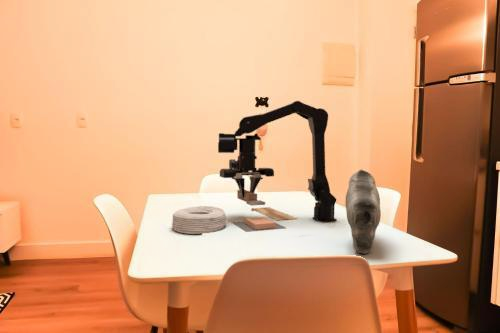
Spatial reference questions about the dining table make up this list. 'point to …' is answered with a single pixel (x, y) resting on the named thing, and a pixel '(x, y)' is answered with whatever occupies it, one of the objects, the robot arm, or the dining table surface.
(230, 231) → the dining table surface
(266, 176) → the robot arm
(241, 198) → the brown wooden plank
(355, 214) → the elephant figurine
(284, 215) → the board
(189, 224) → the cable
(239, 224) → the mat
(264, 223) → the tile
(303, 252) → the dining table surface
